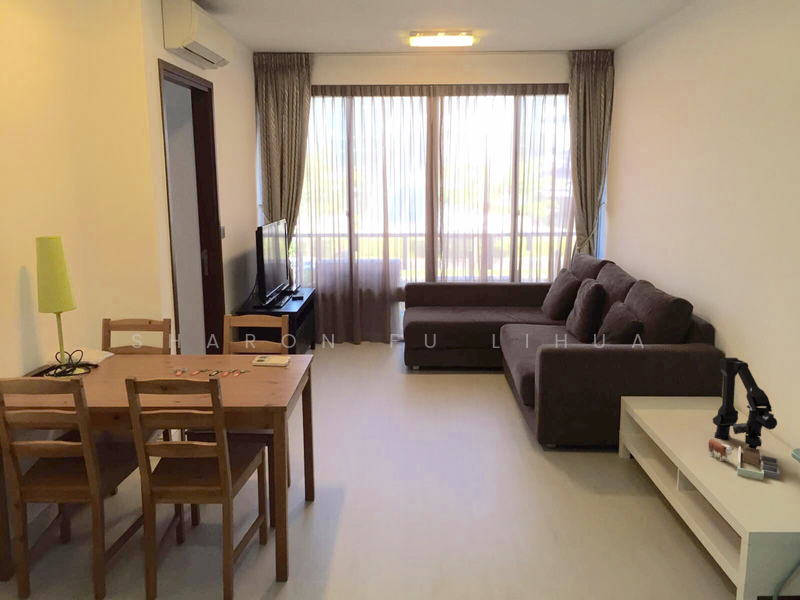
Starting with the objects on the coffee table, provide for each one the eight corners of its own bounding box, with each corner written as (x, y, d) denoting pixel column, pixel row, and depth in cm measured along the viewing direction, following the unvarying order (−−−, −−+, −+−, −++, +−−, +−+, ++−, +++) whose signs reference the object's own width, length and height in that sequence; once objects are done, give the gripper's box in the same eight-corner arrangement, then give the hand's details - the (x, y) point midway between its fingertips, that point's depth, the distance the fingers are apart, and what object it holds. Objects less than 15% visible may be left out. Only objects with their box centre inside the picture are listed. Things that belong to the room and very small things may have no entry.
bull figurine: (726, 466, 277) (729, 448, 275) (704, 453, 290) (706, 436, 288) (735, 465, 278) (737, 447, 276) (712, 452, 291) (714, 435, 289)
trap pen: (738, 451, 292) (739, 445, 291) (776, 459, 285) (777, 452, 284) (737, 474, 269) (738, 468, 268) (779, 483, 262) (780, 477, 261)
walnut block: (742, 456, 287) (744, 446, 286) (757, 459, 284) (759, 449, 283) (742, 461, 281) (744, 451, 280) (758, 464, 279) (759, 454, 278)
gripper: (735, 410, 295) (731, 441, 298) (734, 424, 279) (730, 456, 282) (762, 415, 290) (758, 447, 293) (763, 429, 274) (758, 462, 277)
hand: (750, 453), depth 287 cm, fingers closed
